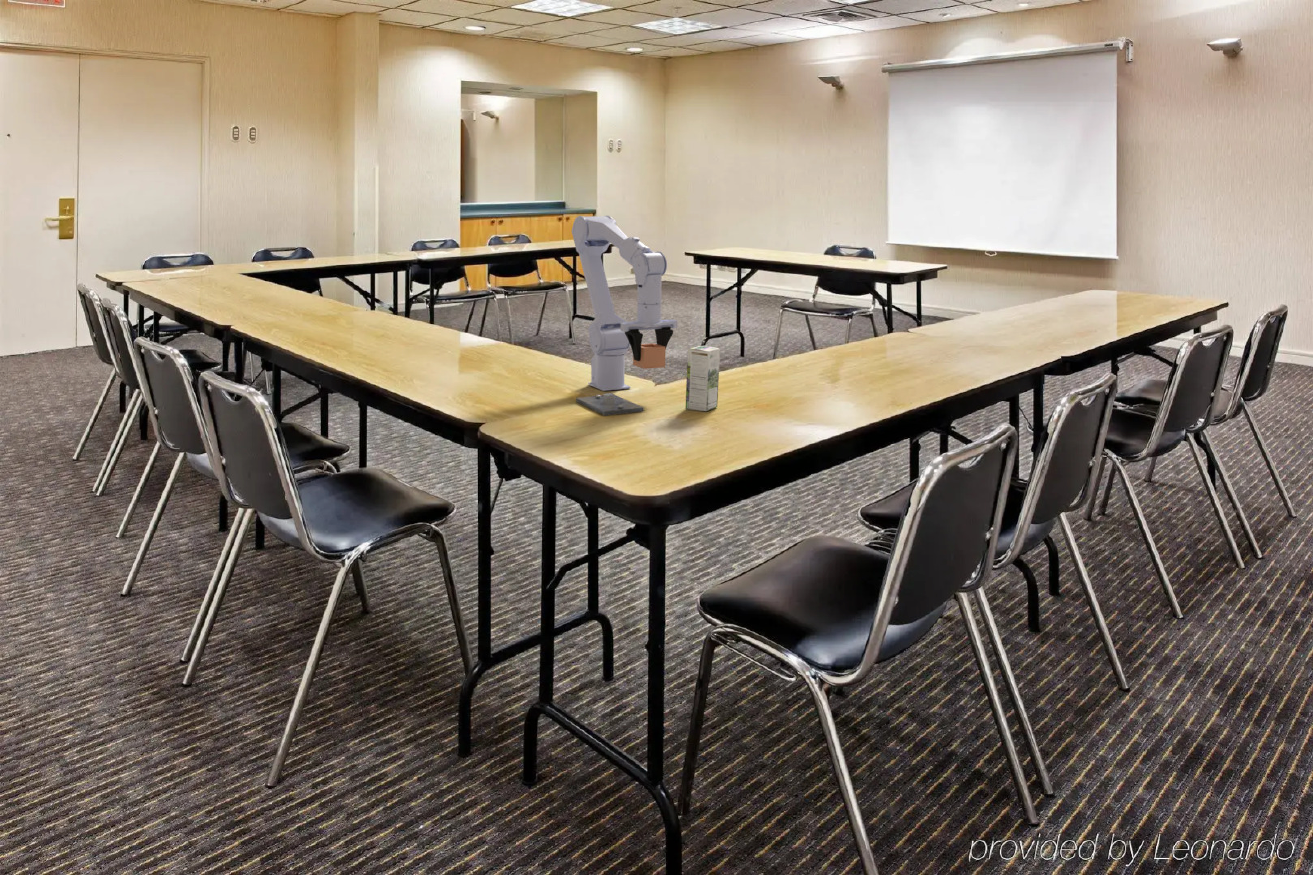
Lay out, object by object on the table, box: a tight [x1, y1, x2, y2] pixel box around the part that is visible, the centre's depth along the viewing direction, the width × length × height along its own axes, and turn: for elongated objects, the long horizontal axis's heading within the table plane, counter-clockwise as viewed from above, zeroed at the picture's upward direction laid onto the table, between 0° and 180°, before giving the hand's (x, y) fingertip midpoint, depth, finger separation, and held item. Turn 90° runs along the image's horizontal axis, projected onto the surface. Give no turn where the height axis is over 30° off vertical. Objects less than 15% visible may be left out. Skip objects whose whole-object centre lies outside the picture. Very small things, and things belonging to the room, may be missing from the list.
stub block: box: [575, 392, 645, 417], centre depth 232 cm, size 16×10×3 cm, turn 29°
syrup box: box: [685, 345, 721, 412], centre depth 230 cm, size 6×6×14 cm
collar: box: [632, 342, 667, 370], centre depth 238 cm, size 6×6×5 cm
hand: (648, 359), depth 238 cm, fingers closed on collar, 6 cm apart
